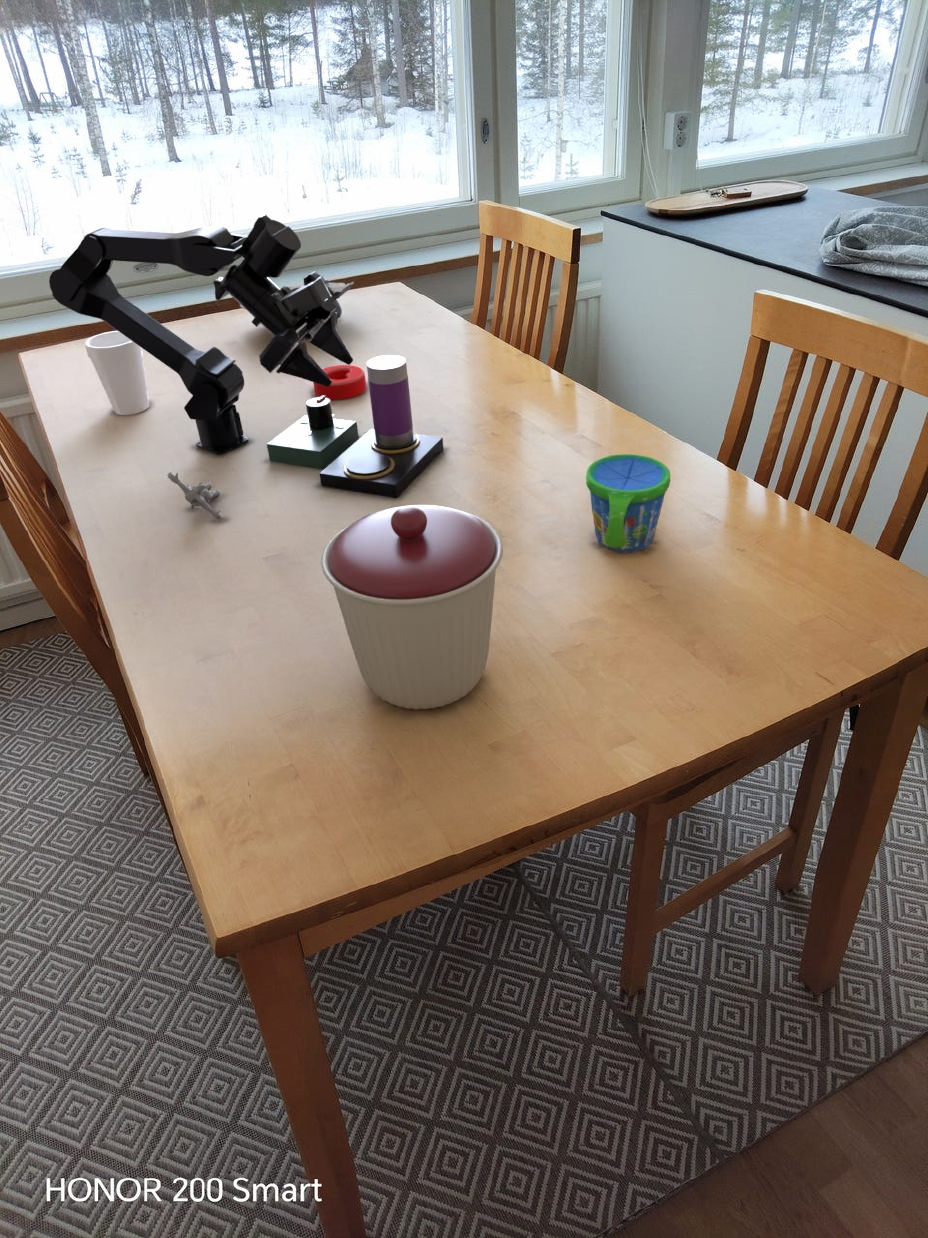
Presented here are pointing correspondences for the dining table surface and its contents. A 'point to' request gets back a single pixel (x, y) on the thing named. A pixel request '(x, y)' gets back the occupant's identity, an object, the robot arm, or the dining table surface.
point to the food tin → (390, 400)
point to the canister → (416, 600)
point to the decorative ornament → (342, 382)
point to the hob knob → (319, 413)
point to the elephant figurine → (198, 495)
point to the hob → (381, 465)
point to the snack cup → (626, 500)
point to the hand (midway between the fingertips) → (341, 373)
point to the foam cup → (120, 371)
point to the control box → (312, 443)
